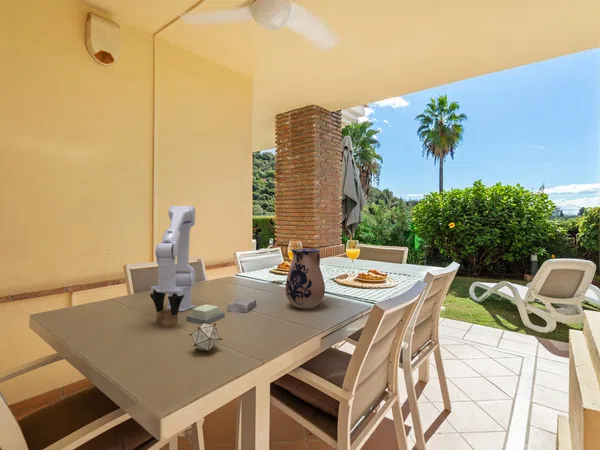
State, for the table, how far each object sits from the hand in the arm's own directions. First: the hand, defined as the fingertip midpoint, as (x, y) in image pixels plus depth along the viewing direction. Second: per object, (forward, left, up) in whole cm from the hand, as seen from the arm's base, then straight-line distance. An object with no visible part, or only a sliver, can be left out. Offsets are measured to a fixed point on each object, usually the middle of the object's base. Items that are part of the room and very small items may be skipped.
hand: (167, 313), depth 109 cm
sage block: (+8, +11, -2) cm, 14 cm away
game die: (+28, -10, -4) cm, 30 cm away
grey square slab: (+8, +11, -5) cm, 14 cm away
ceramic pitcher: (+35, +45, -4) cm, 57 cm away
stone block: (+12, +28, -5) cm, 31 cm away
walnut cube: (0, 0, -4) cm, 4 cm away
